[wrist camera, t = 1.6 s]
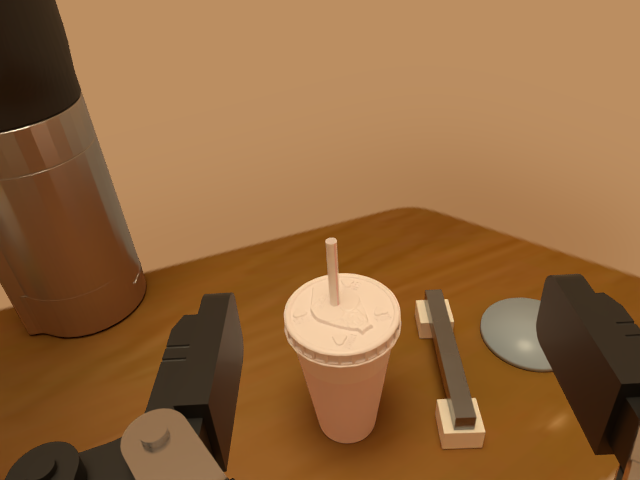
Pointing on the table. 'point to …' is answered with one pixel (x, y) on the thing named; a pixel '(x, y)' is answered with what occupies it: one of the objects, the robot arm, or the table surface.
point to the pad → (515, 333)
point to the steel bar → (449, 362)
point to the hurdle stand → (443, 418)
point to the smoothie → (343, 346)
